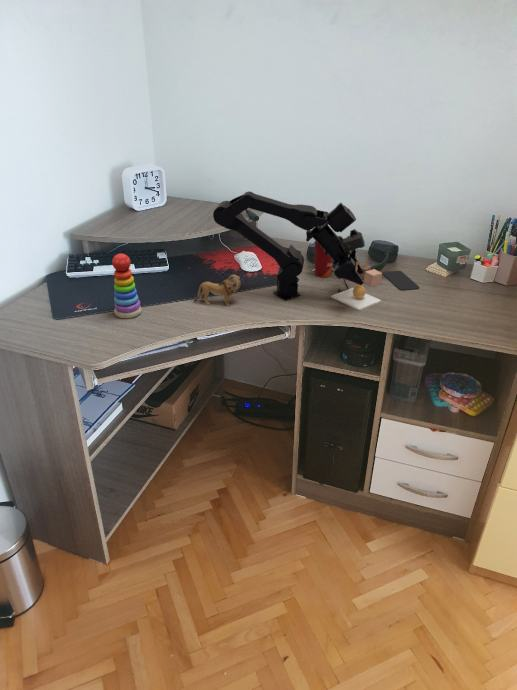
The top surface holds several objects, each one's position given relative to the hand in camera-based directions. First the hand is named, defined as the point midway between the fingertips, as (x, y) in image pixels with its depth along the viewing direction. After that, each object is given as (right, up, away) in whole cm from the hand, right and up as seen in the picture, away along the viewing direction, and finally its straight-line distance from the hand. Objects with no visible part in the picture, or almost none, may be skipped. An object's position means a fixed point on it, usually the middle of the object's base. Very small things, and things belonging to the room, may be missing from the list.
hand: (362, 278), depth 169 cm
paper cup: (-10, +4, +21) cm, 24 cm away
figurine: (-1, -6, +4) cm, 7 cm away
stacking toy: (-71, -11, -5) cm, 72 cm away
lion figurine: (-44, -7, +2) cm, 45 cm away
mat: (-1, -6, +4) cm, 7 cm away
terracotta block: (+6, 0, +15) cm, 16 cm away
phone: (+16, +1, +17) cm, 24 cm away
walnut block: (+4, +3, +19) cm, 20 cm away
